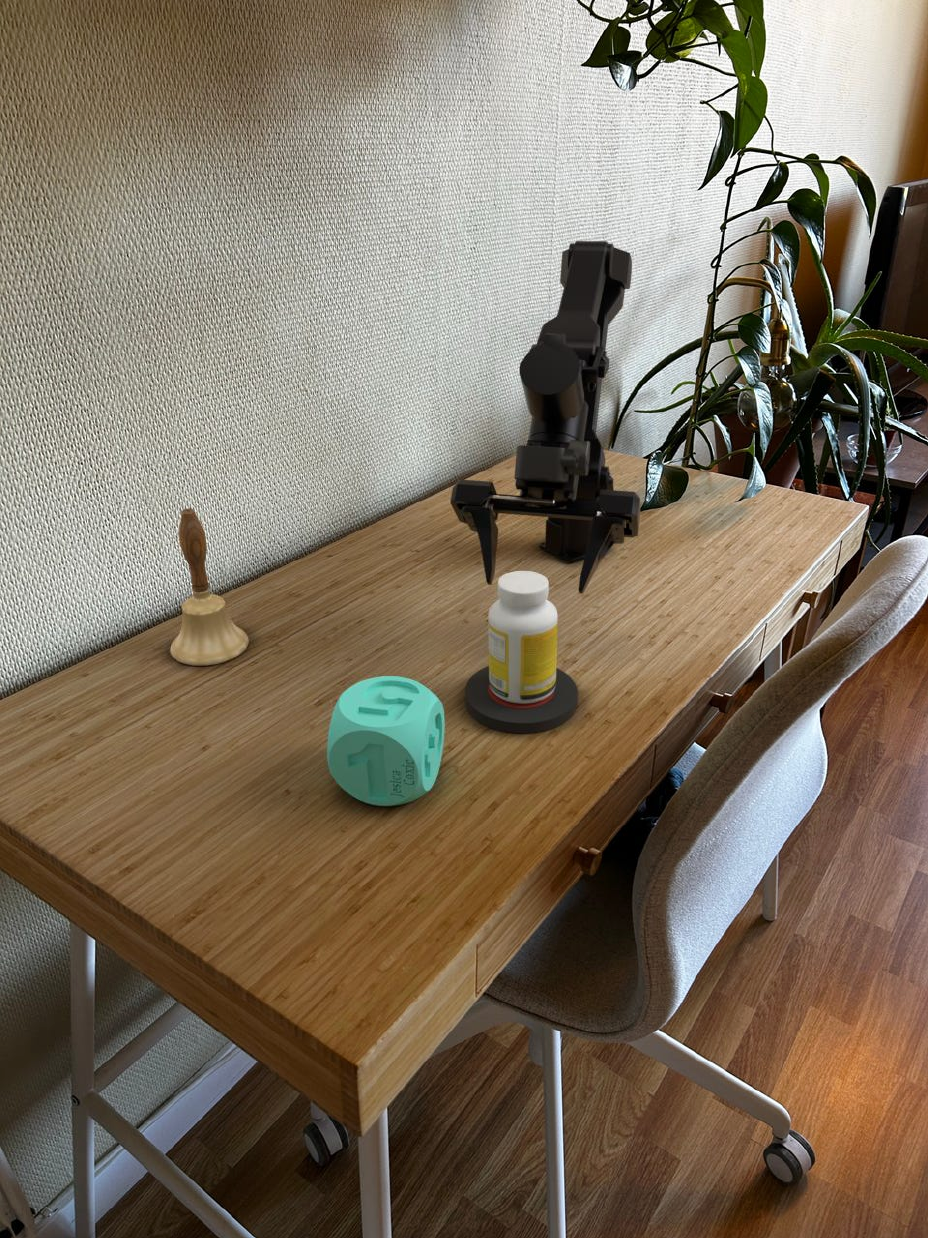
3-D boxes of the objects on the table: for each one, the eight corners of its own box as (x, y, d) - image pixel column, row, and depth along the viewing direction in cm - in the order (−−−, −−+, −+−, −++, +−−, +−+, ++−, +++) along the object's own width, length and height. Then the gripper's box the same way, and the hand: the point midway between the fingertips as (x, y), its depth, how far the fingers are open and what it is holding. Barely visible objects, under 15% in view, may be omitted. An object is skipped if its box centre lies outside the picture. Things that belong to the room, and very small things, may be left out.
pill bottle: (568, 684, 89) (573, 577, 84) (531, 715, 85) (533, 604, 79) (513, 663, 93) (514, 560, 87) (475, 692, 88) (473, 585, 83)
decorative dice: (330, 800, 77) (322, 722, 73) (361, 744, 83) (354, 670, 80) (422, 813, 75) (418, 734, 71) (446, 755, 82) (443, 680, 78)
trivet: (529, 659, 96) (529, 648, 95) (601, 706, 88) (602, 695, 87) (443, 694, 90) (442, 683, 90) (511, 748, 83) (511, 736, 82)
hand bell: (263, 634, 102) (243, 499, 94) (222, 671, 95) (198, 530, 87) (199, 623, 104) (175, 491, 96) (154, 659, 97) (125, 520, 90)
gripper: (452, 401, 89) (425, 551, 85) (647, 411, 85) (628, 569, 81) (472, 453, 99) (449, 588, 95) (646, 464, 95) (629, 606, 91)
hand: (534, 588), depth 90 cm, fingers open, 9 cm apart
